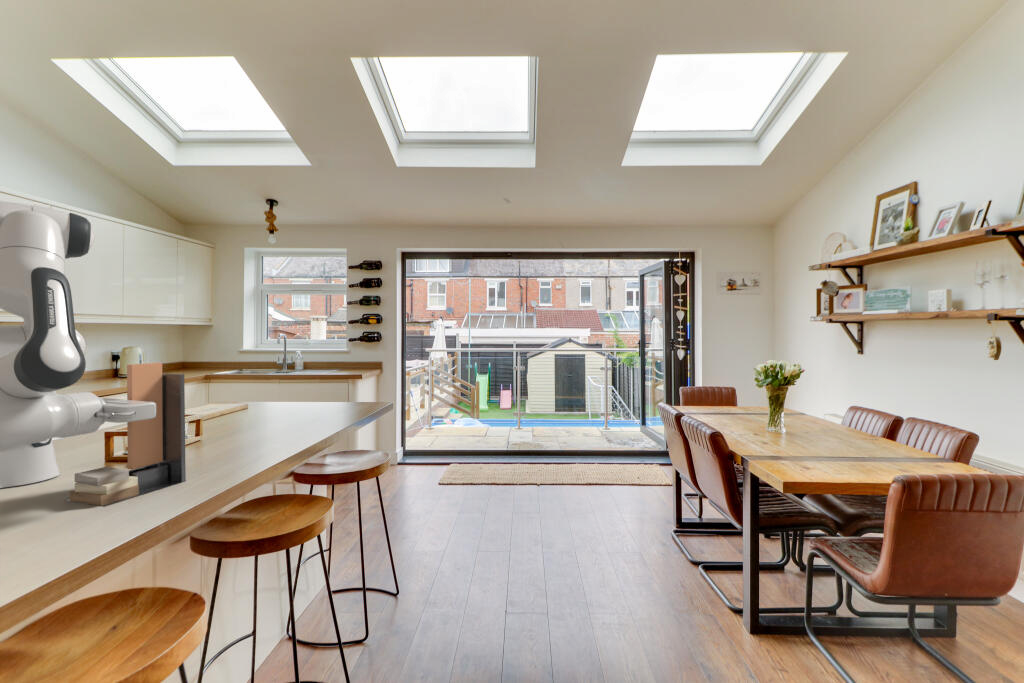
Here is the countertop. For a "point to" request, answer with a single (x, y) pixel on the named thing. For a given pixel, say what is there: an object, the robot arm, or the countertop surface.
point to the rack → (166, 442)
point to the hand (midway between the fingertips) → (147, 404)
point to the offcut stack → (104, 486)
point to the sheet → (145, 433)
